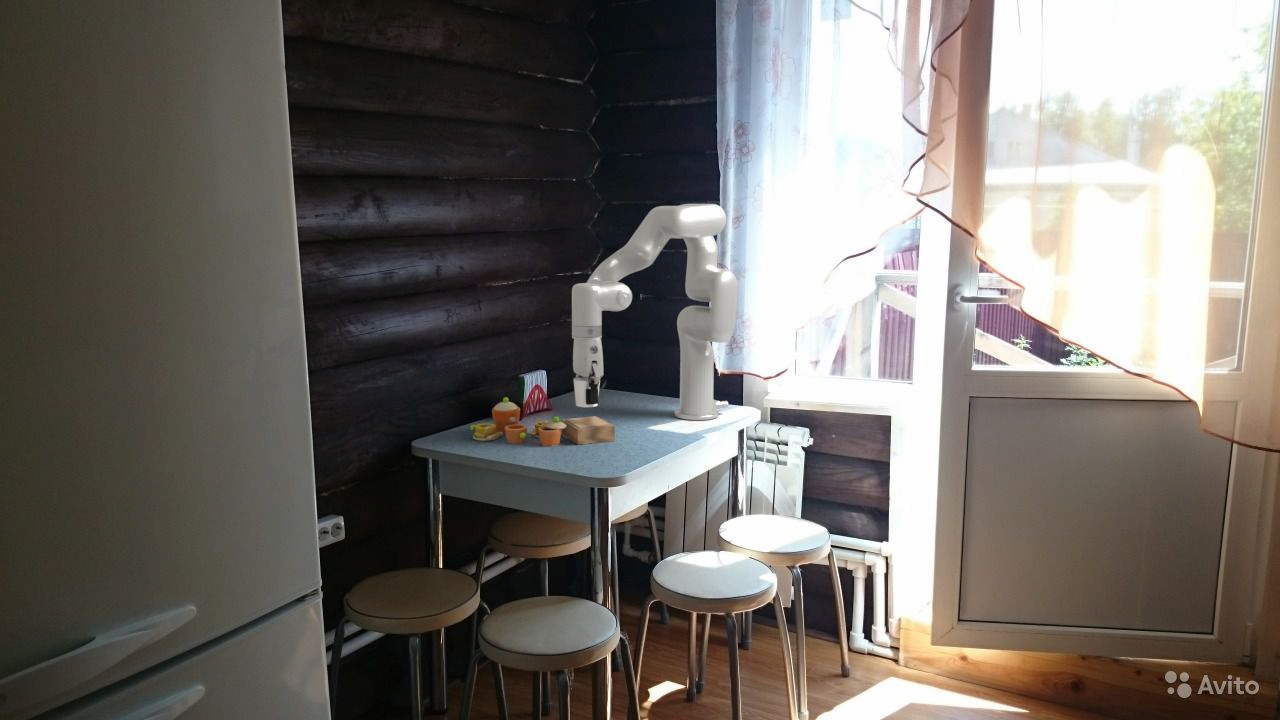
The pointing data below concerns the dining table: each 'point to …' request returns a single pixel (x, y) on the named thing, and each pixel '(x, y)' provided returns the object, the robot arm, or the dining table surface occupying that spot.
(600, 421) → the riser
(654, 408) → the dining table surface
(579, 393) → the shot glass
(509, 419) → the toy tea set
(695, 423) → the dining table surface
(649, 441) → the dining table surface
